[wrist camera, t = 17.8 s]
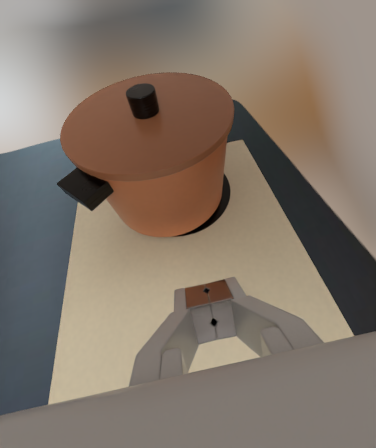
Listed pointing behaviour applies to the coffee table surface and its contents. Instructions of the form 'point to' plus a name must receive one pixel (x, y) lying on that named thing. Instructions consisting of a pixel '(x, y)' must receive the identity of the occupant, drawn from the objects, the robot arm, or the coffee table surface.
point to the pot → (151, 151)
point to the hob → (179, 283)
